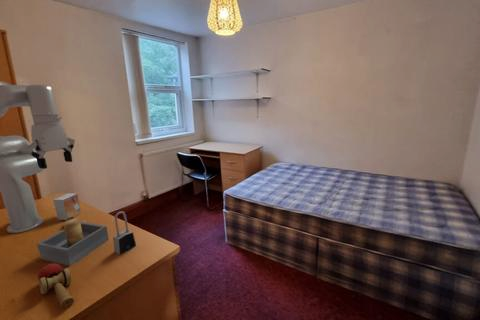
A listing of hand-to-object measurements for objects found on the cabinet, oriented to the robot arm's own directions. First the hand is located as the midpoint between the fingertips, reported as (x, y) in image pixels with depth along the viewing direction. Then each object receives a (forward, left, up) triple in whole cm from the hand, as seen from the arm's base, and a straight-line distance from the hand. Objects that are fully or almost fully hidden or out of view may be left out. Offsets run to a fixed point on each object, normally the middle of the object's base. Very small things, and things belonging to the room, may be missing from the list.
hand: (56, 164), depth 91 cm
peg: (+11, -7, -30) cm, 33 cm away
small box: (-17, +12, -31) cm, 37 cm away
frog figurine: (-6, +5, -31) cm, 32 cm away
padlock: (+29, -2, -31) cm, 42 cm away
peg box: (+11, -7, -30) cm, 33 cm away
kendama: (+25, -24, -31) cm, 47 cm away
